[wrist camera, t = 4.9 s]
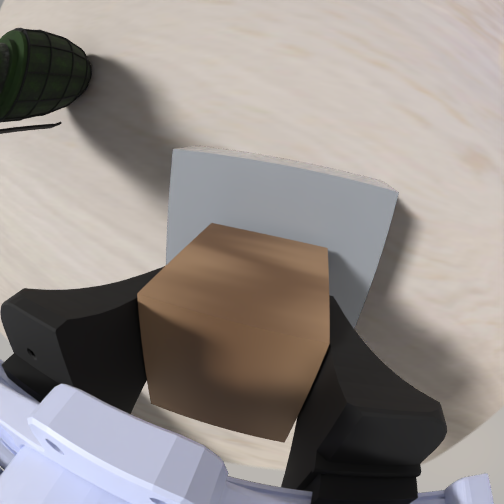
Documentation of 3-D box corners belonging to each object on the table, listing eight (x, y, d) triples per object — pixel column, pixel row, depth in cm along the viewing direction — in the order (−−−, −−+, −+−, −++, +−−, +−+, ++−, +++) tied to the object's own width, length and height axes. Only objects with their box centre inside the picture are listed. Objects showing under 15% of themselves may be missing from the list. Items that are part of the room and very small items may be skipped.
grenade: (105, 28, 13) (-49, -1, 2) (109, 113, 16) (-68, 134, 5) (51, 58, 15) (-83, 60, 4) (54, 135, 17) (-88, 169, 6)
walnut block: (203, 315, 15) (150, 403, 9) (211, 222, 13) (137, 293, 7) (300, 339, 14) (284, 442, 9) (327, 247, 12) (329, 343, 7)
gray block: (188, 298, 20) (166, 327, 17) (201, 145, 16) (172, 148, 13) (335, 333, 18) (336, 369, 15) (381, 180, 14) (398, 192, 11)
